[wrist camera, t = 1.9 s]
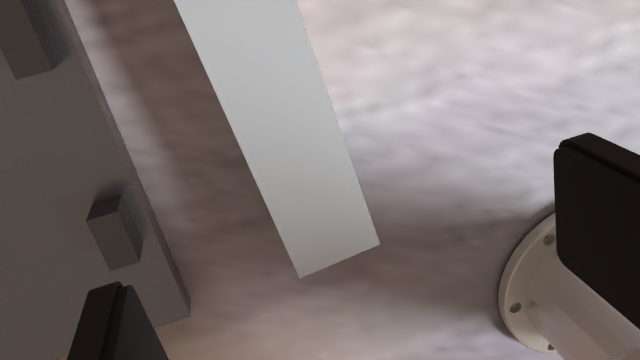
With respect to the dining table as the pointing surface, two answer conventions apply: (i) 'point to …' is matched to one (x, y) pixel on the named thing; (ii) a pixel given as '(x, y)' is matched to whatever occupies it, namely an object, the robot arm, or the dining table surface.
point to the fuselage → (283, 125)
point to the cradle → (67, 192)
